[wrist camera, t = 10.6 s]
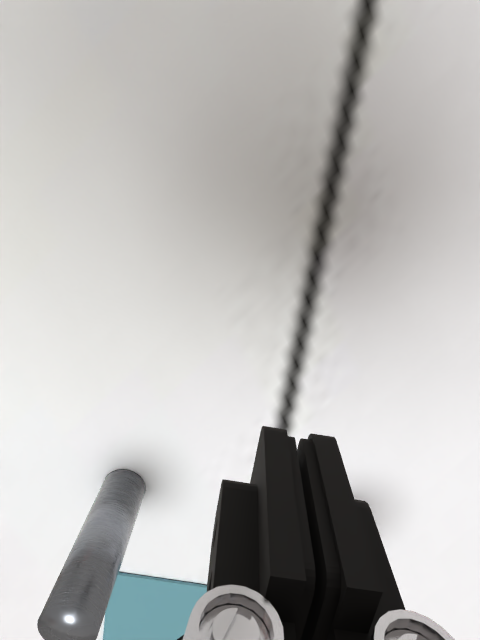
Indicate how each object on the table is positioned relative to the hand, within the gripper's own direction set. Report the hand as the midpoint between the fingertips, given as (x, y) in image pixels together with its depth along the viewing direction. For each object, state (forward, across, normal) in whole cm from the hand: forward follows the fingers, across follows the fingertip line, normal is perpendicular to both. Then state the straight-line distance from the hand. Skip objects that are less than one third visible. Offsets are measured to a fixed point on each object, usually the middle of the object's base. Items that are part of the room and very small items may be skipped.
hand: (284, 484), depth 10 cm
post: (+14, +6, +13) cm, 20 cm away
